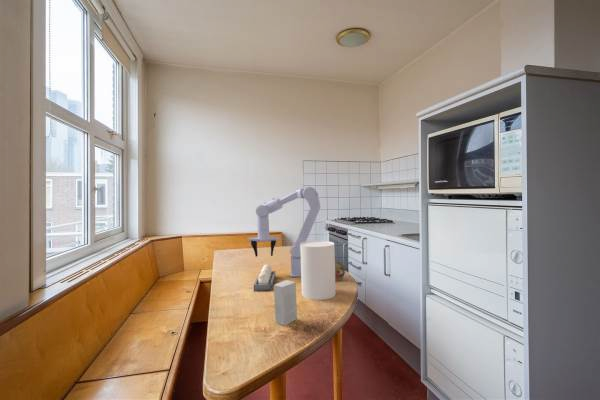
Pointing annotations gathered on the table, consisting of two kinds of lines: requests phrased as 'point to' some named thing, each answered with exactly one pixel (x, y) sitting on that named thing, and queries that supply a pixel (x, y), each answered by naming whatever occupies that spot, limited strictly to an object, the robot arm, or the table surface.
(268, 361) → the table surface
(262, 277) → the egg
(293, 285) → the skincare box
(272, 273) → the egg crate
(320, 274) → the canister
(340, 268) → the tin
